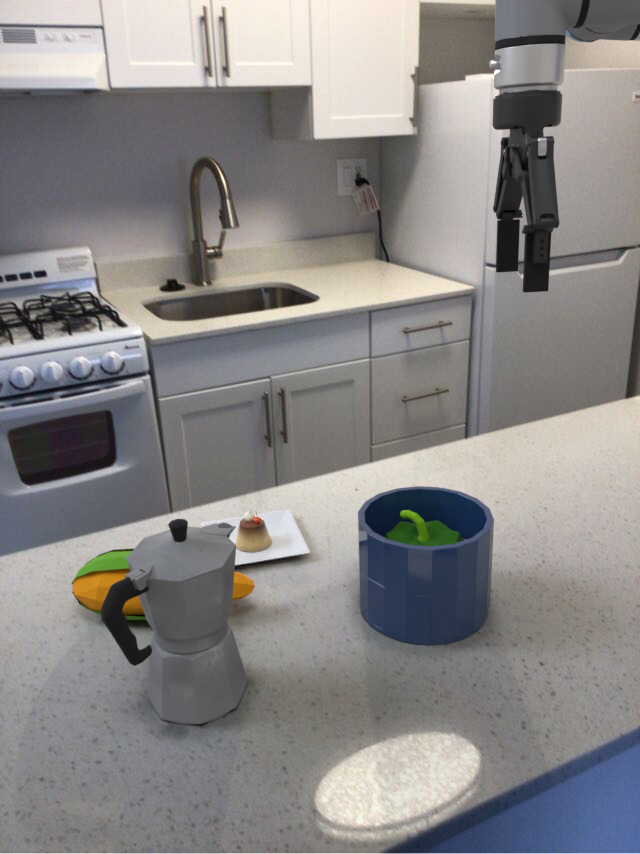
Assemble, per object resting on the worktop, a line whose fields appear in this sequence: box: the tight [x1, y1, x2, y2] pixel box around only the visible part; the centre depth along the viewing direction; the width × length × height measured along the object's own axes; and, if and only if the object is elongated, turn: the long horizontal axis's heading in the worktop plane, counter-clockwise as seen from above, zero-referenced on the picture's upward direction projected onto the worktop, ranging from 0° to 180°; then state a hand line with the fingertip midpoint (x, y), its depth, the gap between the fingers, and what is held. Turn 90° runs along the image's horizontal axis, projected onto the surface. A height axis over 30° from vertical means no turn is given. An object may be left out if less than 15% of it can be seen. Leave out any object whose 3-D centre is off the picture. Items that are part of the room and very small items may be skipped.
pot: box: [357, 485, 495, 646], centre depth 80 cm, size 14×14×11 cm
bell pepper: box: [384, 510, 463, 546], centre depth 81 cm, size 8×8×10 cm
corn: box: [70, 547, 256, 621], centre depth 82 cm, size 7×8×20 cm
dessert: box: [200, 508, 311, 567], centre depth 95 cm, size 12×12×5 cm
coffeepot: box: [100, 518, 249, 726], centre depth 67 cm, size 15×9×18 cm, turn 145°
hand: (520, 281), depth 92 cm, fingers open, 13 cm apart
